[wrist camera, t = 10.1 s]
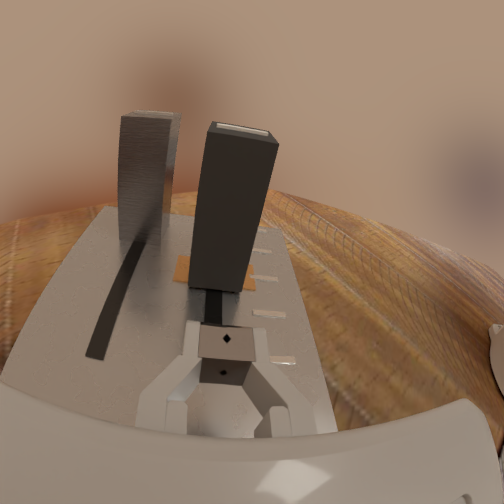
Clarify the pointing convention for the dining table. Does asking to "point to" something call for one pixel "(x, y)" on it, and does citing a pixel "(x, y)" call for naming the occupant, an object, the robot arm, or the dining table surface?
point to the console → (157, 305)
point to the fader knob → (229, 204)
